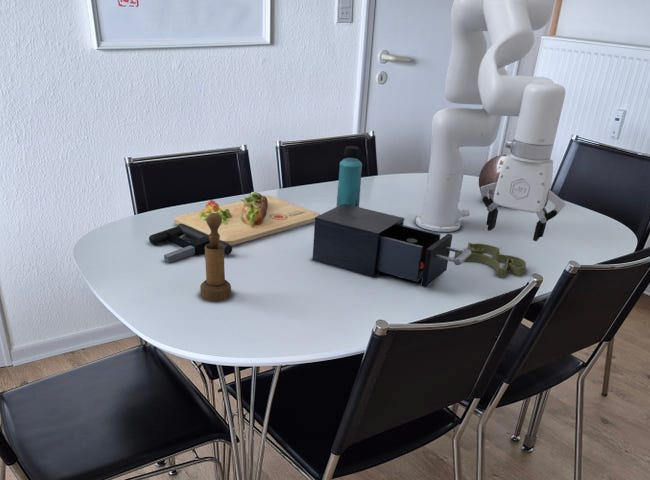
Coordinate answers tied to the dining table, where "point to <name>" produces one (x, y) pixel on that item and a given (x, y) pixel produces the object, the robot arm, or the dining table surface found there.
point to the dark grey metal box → (351, 237)
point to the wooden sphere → (491, 172)
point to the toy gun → (185, 242)
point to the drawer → (416, 254)
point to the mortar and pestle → (215, 265)
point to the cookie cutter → (495, 259)
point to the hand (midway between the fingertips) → (513, 234)
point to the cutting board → (249, 218)
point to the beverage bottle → (349, 178)
